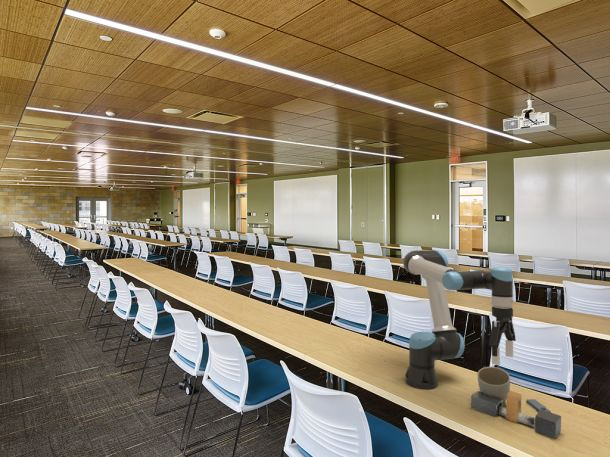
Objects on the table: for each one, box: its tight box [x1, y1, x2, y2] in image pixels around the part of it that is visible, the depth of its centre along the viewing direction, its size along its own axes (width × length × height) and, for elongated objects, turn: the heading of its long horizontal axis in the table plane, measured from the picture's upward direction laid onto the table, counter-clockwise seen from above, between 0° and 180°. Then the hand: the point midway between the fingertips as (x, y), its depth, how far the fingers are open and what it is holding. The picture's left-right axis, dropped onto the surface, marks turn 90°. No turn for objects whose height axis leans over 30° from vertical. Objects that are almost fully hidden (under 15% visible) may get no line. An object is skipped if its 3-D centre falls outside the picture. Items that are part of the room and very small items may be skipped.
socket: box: [534, 410, 562, 440], centre depth 141 cm, size 6×7×6 cm
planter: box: [477, 366, 511, 403], centre depth 163 cm, size 12×12×11 cm
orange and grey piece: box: [497, 390, 535, 428], centre depth 152 cm, size 19×4×10 cm, turn 43°
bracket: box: [526, 398, 552, 413], centre depth 159 cm, size 4×10×2 cm, turn 1°
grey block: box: [470, 390, 504, 418], centre depth 157 cm, size 10×7×5 cm
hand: (502, 360), depth 152 cm, fingers open, 13 cm apart
